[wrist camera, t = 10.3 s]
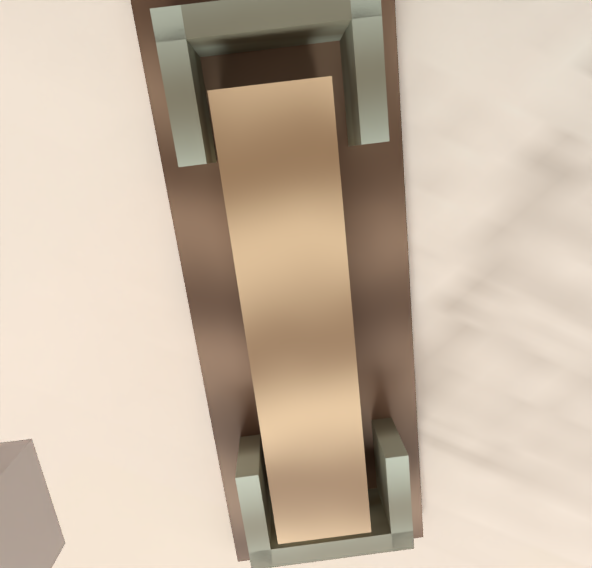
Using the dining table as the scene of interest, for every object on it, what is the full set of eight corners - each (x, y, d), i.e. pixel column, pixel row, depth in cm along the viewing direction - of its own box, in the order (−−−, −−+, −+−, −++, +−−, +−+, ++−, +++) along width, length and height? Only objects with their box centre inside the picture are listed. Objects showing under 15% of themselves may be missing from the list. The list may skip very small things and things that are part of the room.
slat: (221, 103, 19) (207, 90, 15) (319, 92, 19) (332, 75, 15) (277, 480, 24) (277, 544, 20) (355, 470, 24) (371, 532, 20)
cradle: (131, -28, 18) (92, -78, 14) (384, -58, 18) (414, -115, 14) (239, 546, 26) (233, 614, 22) (417, 522, 26) (442, 586, 22)
